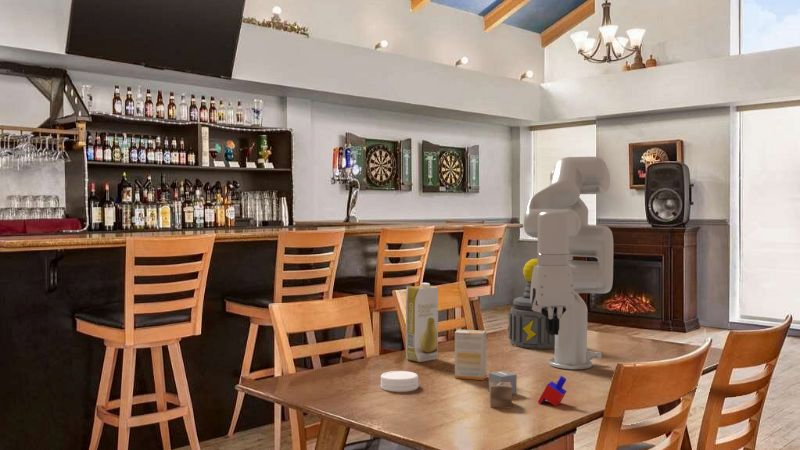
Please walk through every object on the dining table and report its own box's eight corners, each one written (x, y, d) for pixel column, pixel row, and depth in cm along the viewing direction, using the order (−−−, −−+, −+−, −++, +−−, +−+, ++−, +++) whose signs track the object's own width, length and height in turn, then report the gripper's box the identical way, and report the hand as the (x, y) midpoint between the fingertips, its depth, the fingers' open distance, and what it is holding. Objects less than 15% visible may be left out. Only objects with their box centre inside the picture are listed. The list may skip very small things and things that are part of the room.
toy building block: (552, 412, 168) (568, 384, 166) (537, 402, 169) (552, 374, 167) (556, 408, 171) (572, 381, 169) (542, 398, 173) (557, 371, 171)
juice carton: (419, 363, 212) (420, 284, 212) (402, 359, 218) (402, 282, 218) (441, 359, 219) (442, 282, 218) (424, 355, 224) (424, 280, 224)
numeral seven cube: (510, 402, 171) (510, 381, 170) (511, 408, 166) (512, 386, 166) (489, 401, 171) (489, 381, 171) (490, 407, 166) (490, 386, 166)
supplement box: (487, 377, 196) (487, 330, 196) (483, 381, 191) (483, 333, 191) (458, 374, 199) (458, 328, 198) (454, 378, 194) (454, 331, 194)
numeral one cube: (503, 389, 183) (504, 370, 183) (516, 394, 178) (516, 374, 178) (488, 392, 180) (488, 372, 180) (500, 396, 176) (501, 376, 176)
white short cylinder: (374, 385, 187) (374, 372, 187) (408, 381, 191) (408, 369, 191) (389, 394, 178) (389, 380, 178) (424, 390, 182) (424, 377, 182)
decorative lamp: (502, 346, 239) (503, 259, 239) (515, 337, 257) (516, 255, 256) (557, 351, 232) (558, 261, 231) (567, 341, 249) (568, 257, 249)
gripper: (571, 258, 179) (571, 329, 180) (518, 260, 175) (518, 332, 176) (587, 261, 172) (587, 335, 173) (532, 263, 168) (532, 339, 169)
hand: (552, 333), depth 175 cm, fingers closed
